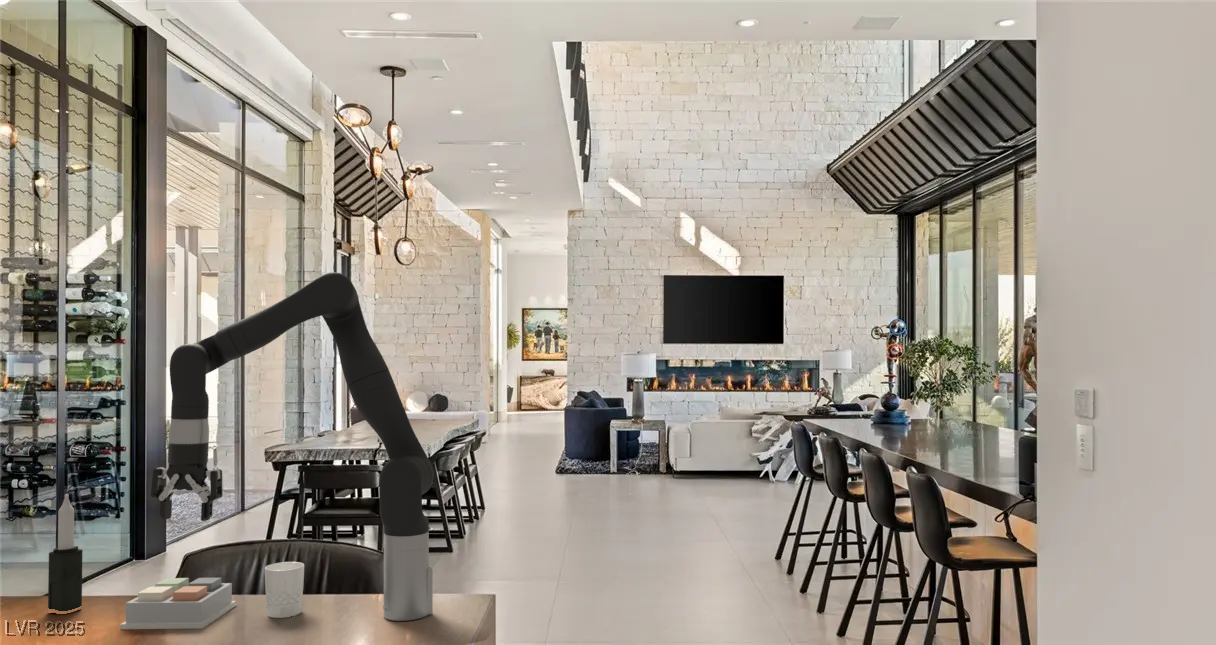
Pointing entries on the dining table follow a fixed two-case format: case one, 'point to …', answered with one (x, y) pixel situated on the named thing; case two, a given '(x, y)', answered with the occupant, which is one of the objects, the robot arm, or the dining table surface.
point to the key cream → (155, 594)
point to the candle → (65, 564)
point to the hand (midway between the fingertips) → (185, 519)
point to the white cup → (284, 589)
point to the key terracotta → (190, 593)
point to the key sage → (173, 583)
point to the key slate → (207, 583)
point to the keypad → (179, 611)
